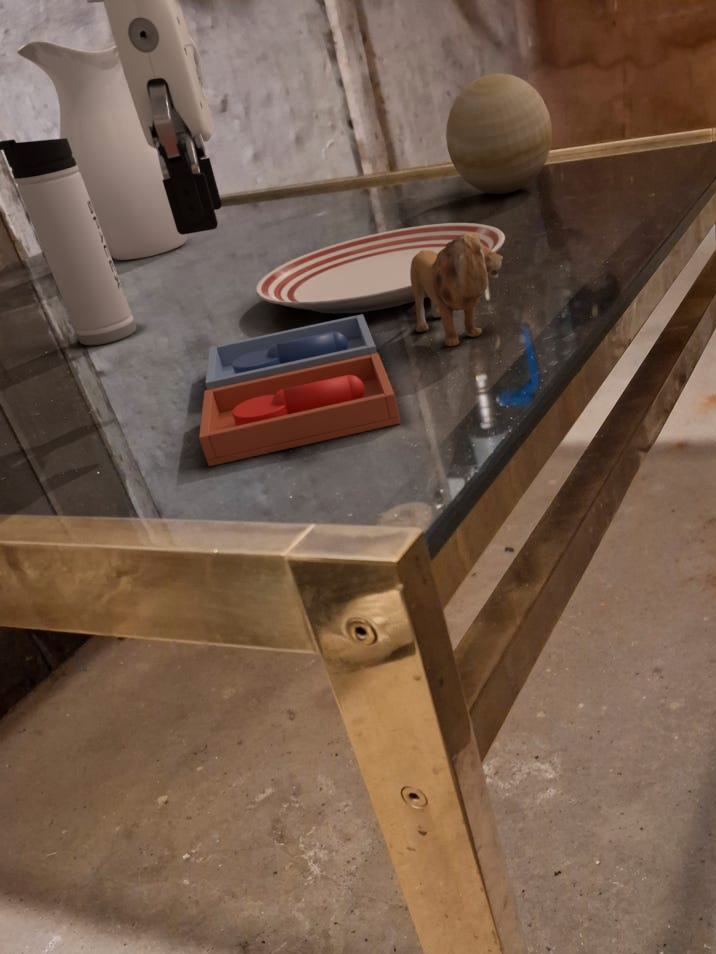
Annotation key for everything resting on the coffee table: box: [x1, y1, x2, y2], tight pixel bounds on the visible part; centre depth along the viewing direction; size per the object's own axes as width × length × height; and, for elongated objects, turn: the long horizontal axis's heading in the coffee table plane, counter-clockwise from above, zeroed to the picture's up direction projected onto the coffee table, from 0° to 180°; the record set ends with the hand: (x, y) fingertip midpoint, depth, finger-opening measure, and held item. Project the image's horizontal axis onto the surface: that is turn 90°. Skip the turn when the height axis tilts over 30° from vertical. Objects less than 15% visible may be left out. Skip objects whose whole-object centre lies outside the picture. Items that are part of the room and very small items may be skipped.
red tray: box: [198, 352, 401, 467], centre depth 71 cm, size 14×10×2 cm
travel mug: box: [0, 138, 138, 347], centre depth 96 cm, size 6×7×20 cm
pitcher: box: [16, 36, 203, 261], centre depth 133 cm, size 24×17×28 cm
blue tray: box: [204, 314, 378, 390], centre depth 81 cm, size 14×10×2 cm
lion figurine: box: [406, 233, 504, 347], centre depth 82 cm, size 15×5×9 cm, turn 35°
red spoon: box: [232, 375, 365, 426], centre depth 71 cm, size 10×4×2 cm, turn 102°
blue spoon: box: [232, 332, 348, 374], centre depth 81 cm, size 10×4×2 cm, turn 102°
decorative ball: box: [445, 72, 553, 195], centre depth 130 cm, size 15×15×15 cm
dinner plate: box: [255, 222, 506, 314], centre depth 100 cm, size 28×27×3 cm
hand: (201, 220), depth 77 cm, fingers open, 9 cm apart
